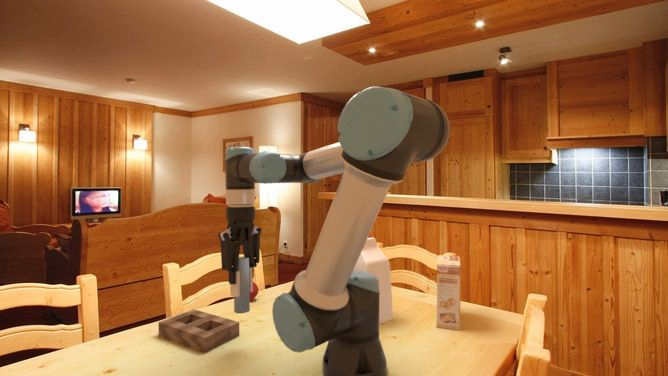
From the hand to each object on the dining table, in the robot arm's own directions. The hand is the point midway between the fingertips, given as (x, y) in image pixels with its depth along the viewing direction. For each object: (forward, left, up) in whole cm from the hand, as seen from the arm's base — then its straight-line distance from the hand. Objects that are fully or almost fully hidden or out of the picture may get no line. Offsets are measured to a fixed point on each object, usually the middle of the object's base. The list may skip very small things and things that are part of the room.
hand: (241, 293), depth 95 cm
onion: (+25, -29, -15) cm, 41 cm away
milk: (-20, -36, -15) cm, 44 cm away
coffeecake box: (-43, -48, -15) cm, 66 cm away
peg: (0, 0, -5) cm, 5 cm away
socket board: (+16, +1, -15) cm, 22 cm away
